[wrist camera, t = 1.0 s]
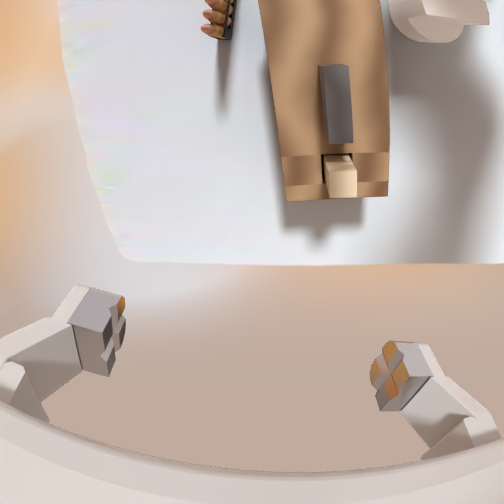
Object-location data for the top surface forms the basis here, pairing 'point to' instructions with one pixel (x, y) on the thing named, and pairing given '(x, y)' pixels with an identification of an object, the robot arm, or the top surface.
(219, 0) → the ammunition clip
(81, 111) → the top surface
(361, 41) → the lid
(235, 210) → the top surface
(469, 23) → the base with upright slab
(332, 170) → the pin
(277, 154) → the top surface
